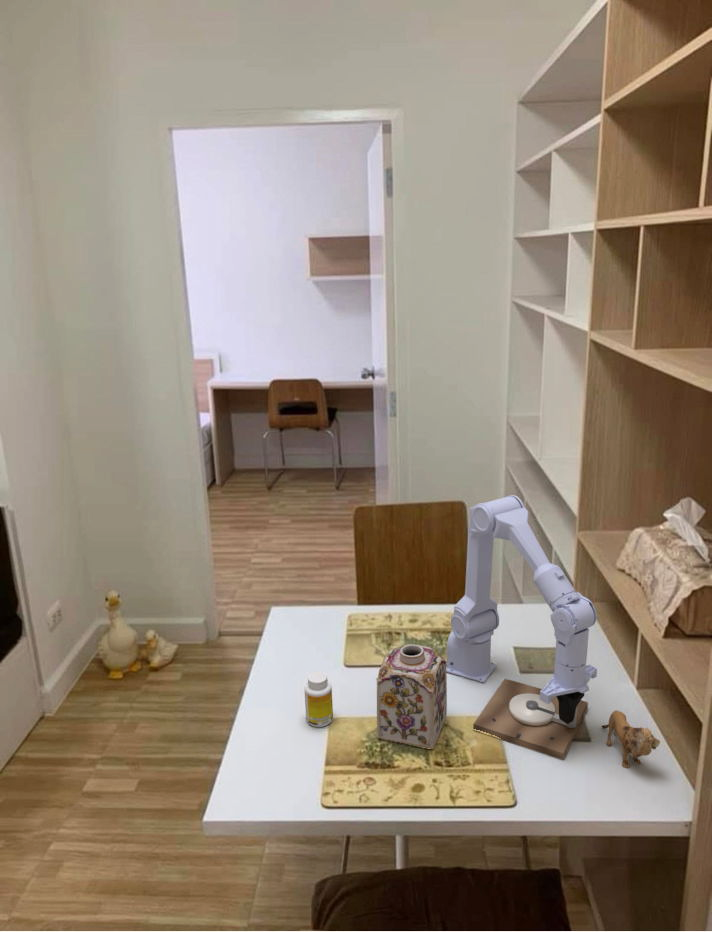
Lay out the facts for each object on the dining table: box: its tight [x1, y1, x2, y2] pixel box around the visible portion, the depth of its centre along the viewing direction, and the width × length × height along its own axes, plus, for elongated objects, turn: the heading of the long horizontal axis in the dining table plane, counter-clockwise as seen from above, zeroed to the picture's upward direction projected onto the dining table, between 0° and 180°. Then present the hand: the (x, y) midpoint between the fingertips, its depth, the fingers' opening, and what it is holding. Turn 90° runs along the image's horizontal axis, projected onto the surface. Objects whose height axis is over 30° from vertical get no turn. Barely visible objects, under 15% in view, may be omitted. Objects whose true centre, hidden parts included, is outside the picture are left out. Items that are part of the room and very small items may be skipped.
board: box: [472, 678, 589, 761], centre depth 147 cm, size 18×18×2 cm
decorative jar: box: [376, 643, 448, 750], centre depth 143 cm, size 12×12×18 cm
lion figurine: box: [601, 710, 661, 769], centre depth 135 cm, size 15×5×9 cm, turn 15°
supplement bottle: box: [304, 671, 334, 728], centre depth 148 cm, size 6×6×10 cm
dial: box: [509, 693, 577, 728], centre depth 145 cm, size 14×9×5 cm, turn 55°
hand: (566, 720), depth 141 cm, fingers closed, pressing on dial
